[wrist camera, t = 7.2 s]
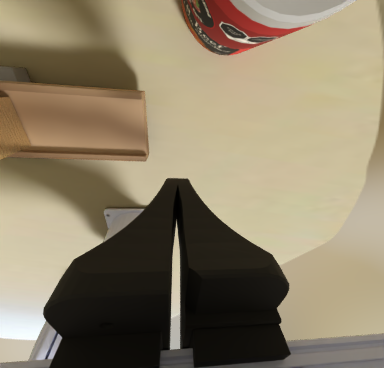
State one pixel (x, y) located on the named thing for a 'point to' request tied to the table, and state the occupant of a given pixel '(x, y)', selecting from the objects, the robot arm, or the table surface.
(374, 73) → the table surface
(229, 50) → the canned food
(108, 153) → the beam
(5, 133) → the block
